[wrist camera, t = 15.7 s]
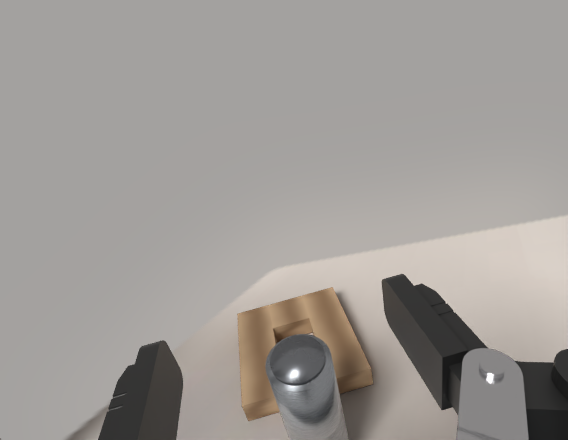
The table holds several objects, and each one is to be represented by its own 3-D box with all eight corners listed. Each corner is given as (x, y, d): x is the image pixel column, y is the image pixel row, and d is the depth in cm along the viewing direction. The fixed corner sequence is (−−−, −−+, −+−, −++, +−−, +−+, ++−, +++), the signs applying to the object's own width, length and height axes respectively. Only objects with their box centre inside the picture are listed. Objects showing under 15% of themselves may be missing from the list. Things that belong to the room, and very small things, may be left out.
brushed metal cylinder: (304, 494, 33) (268, 397, 26) (293, 435, 38) (261, 340, 31) (360, 477, 33) (339, 376, 26) (342, 420, 38) (320, 324, 31)
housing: (248, 421, 40) (241, 406, 39) (242, 327, 55) (237, 313, 53) (373, 384, 41) (370, 368, 40) (335, 301, 55) (332, 287, 54)
